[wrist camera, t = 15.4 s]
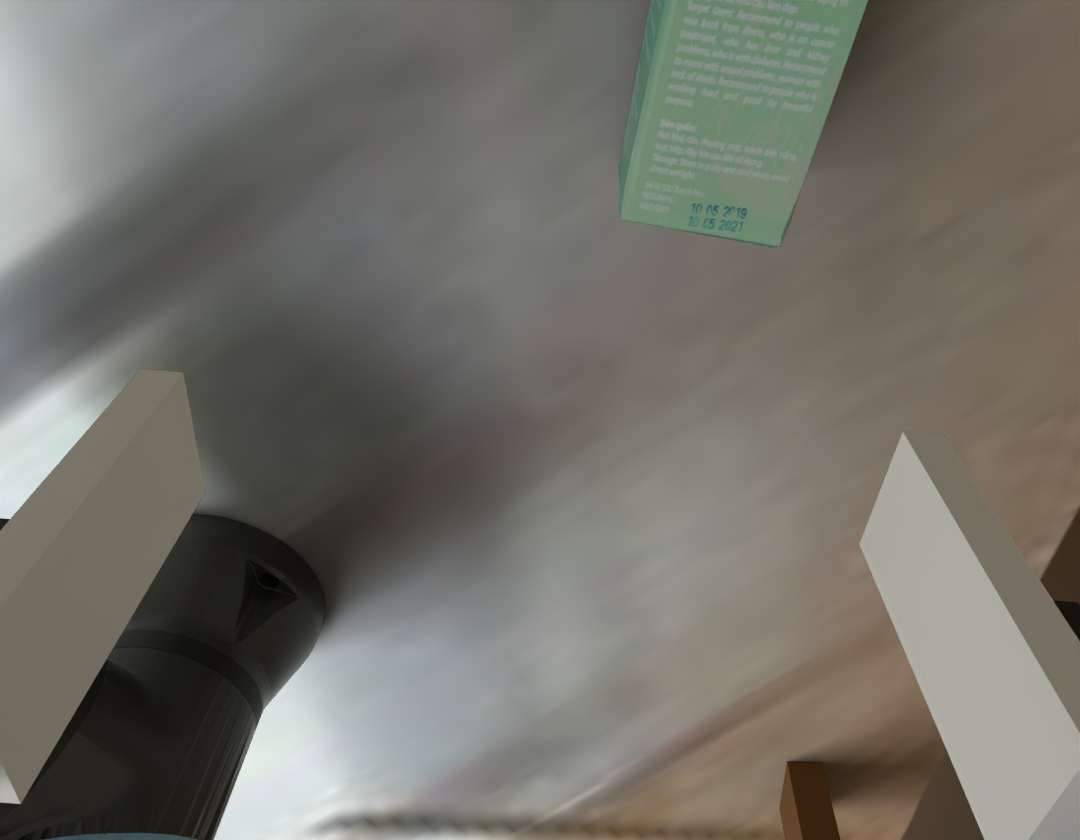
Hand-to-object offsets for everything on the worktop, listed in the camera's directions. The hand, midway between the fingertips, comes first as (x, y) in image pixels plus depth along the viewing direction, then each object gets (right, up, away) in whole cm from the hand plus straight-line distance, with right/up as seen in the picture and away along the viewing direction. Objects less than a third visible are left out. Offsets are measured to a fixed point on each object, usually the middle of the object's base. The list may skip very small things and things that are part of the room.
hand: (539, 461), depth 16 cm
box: (+8, +18, +22) cm, 30 cm away
